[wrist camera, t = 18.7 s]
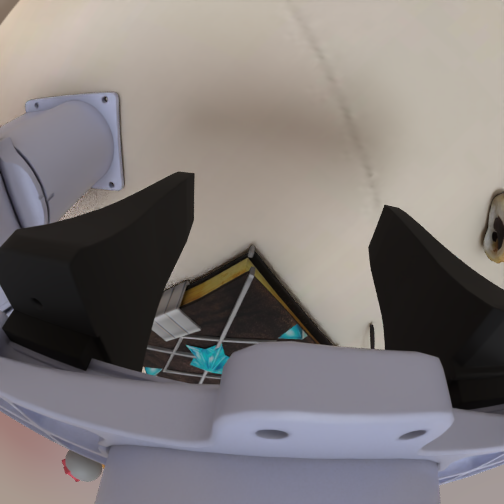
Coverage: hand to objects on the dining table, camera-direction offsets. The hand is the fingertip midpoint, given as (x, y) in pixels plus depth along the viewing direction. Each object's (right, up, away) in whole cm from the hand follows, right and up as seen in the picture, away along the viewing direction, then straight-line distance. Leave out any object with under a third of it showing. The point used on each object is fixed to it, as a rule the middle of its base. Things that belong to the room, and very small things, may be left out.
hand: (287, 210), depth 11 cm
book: (-5, -10, +22) cm, 25 cm away
